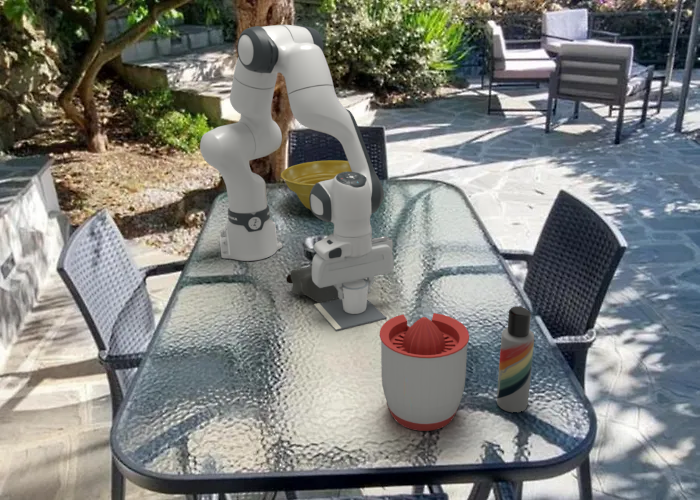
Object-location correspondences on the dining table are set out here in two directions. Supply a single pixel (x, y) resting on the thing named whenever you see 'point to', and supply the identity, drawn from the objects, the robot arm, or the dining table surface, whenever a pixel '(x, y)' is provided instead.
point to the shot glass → (355, 296)
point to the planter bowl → (312, 176)
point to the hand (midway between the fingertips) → (354, 295)
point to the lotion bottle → (515, 361)
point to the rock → (310, 286)
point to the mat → (347, 314)
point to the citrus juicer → (423, 370)
